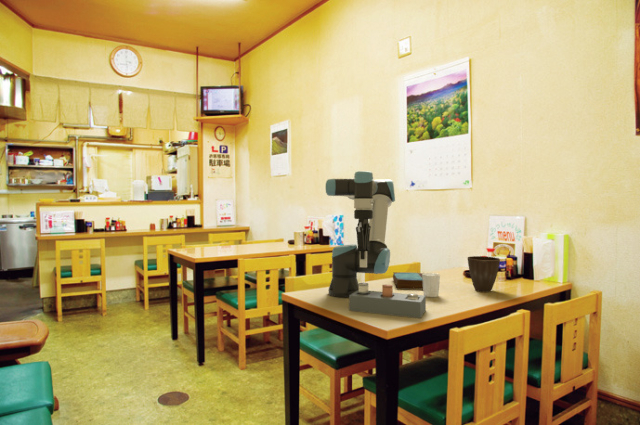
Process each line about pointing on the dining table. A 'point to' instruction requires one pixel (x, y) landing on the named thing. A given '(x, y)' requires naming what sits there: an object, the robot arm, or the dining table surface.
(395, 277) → the book
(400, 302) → the grey socket block
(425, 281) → the white cup
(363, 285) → the silver knob
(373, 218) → the robot arm
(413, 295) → the silver knob
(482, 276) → the plant pot
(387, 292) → the terracotta knob middle
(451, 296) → the dining table surface
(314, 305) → the dining table surface
